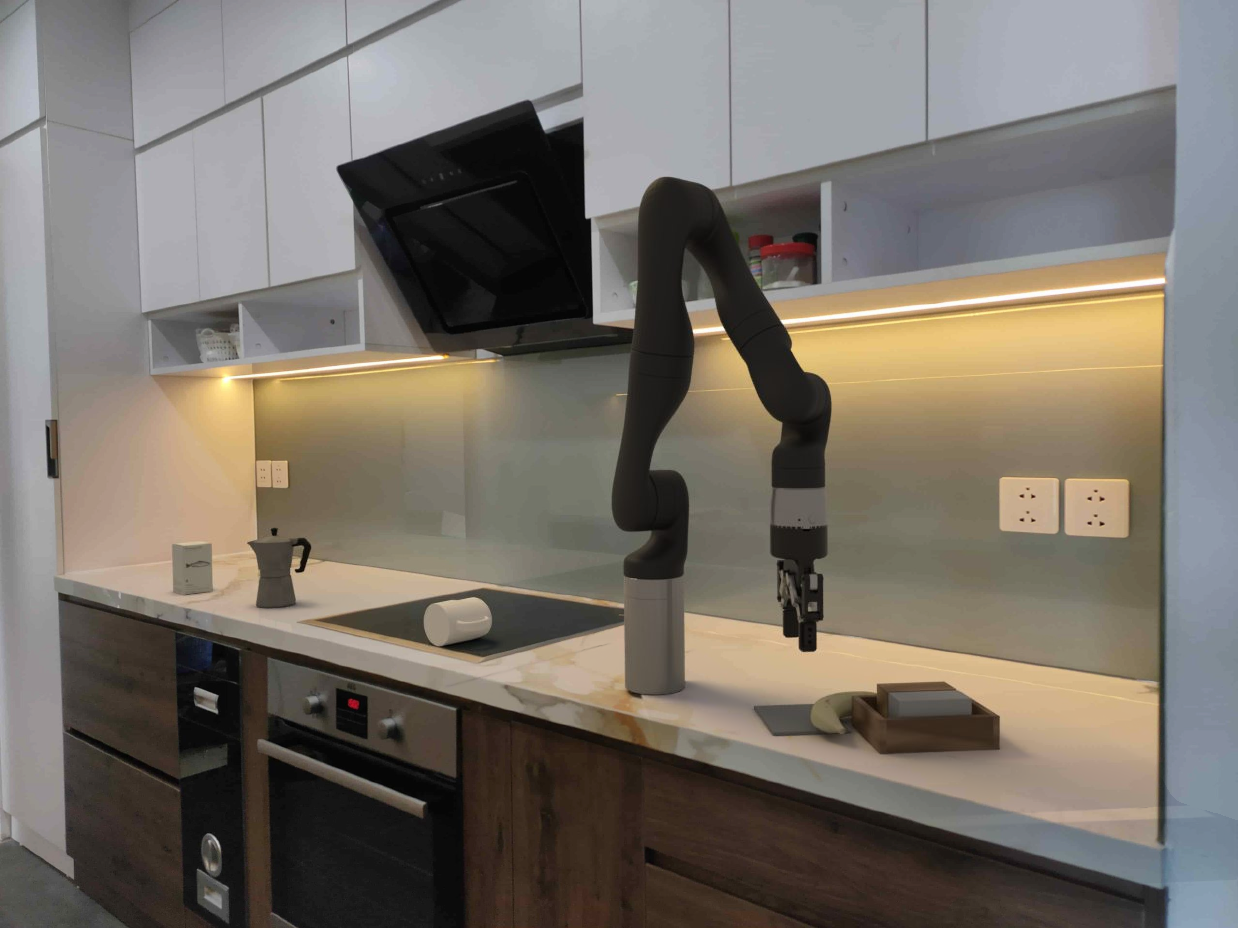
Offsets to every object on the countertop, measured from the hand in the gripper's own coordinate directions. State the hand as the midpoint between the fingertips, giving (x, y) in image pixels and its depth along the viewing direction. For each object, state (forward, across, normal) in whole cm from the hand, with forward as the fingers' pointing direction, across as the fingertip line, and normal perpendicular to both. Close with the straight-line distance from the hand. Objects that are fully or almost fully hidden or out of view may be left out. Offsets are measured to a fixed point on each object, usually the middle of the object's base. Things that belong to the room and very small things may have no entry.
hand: (799, 643), depth 116 cm
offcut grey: (+10, +10, +14) cm, 20 cm away
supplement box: (+11, -115, -126) cm, 171 cm away
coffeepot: (+11, -95, -97) cm, 136 cm away
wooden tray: (+10, +8, +14) cm, 19 cm away
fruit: (+10, 0, +13) cm, 16 cm away
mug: (+11, -51, -51) cm, 73 cm away
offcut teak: (+10, +6, +14) cm, 18 cm away
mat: (+10, 0, 0) cm, 10 cm away
